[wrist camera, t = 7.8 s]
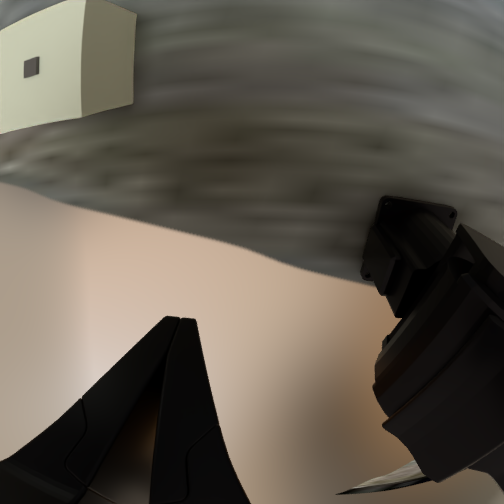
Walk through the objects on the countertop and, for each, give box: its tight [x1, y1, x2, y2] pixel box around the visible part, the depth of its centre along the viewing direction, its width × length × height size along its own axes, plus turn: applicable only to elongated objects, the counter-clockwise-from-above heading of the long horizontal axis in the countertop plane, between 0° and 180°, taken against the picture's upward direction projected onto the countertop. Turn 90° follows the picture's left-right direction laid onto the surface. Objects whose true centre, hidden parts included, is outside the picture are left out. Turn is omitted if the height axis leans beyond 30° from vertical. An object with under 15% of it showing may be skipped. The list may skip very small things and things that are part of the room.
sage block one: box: [0, 0, 137, 134], centre depth 11 cm, size 6×6×6 cm
